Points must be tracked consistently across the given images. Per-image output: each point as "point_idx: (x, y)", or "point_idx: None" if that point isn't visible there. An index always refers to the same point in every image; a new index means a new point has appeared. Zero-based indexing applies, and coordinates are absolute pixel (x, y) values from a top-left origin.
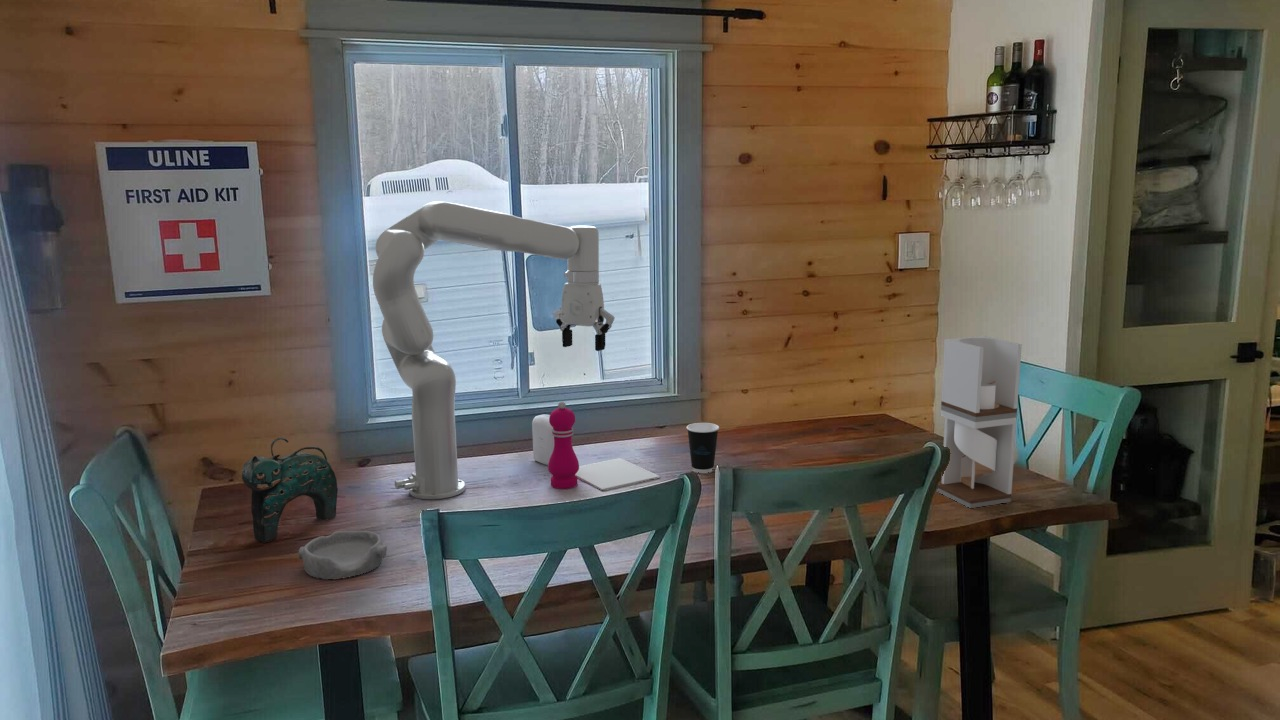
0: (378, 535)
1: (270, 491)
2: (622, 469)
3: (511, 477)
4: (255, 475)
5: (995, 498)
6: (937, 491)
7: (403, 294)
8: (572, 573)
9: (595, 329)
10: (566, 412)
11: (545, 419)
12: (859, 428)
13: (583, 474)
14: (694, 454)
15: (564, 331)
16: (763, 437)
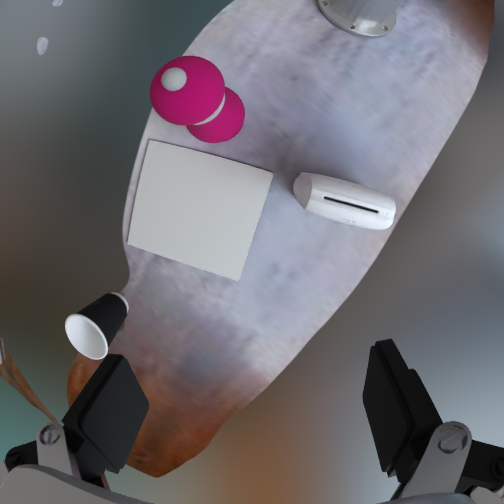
0: None
1: None
2: (190, 234)
3: (324, 95)
4: None
5: None
6: (1, 339)
7: None
8: (59, 3)
9: (64, 457)
10: (155, 81)
11: (349, 189)
12: (135, 455)
13: (223, 171)
14: (101, 301)
15: (415, 428)
16: (168, 425)
